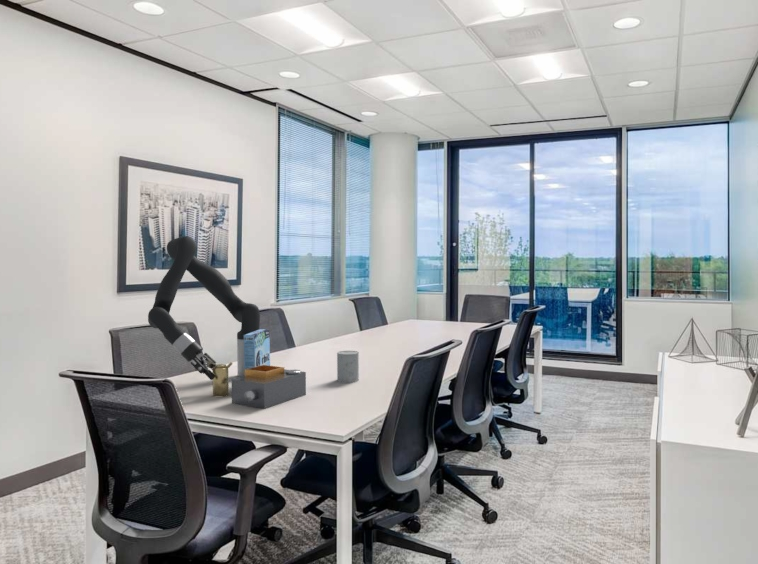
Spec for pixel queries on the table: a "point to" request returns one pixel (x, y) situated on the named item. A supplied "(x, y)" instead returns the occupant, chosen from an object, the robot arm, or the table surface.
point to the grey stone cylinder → (347, 366)
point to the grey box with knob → (268, 386)
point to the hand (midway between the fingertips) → (217, 375)
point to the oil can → (221, 380)
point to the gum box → (256, 349)
